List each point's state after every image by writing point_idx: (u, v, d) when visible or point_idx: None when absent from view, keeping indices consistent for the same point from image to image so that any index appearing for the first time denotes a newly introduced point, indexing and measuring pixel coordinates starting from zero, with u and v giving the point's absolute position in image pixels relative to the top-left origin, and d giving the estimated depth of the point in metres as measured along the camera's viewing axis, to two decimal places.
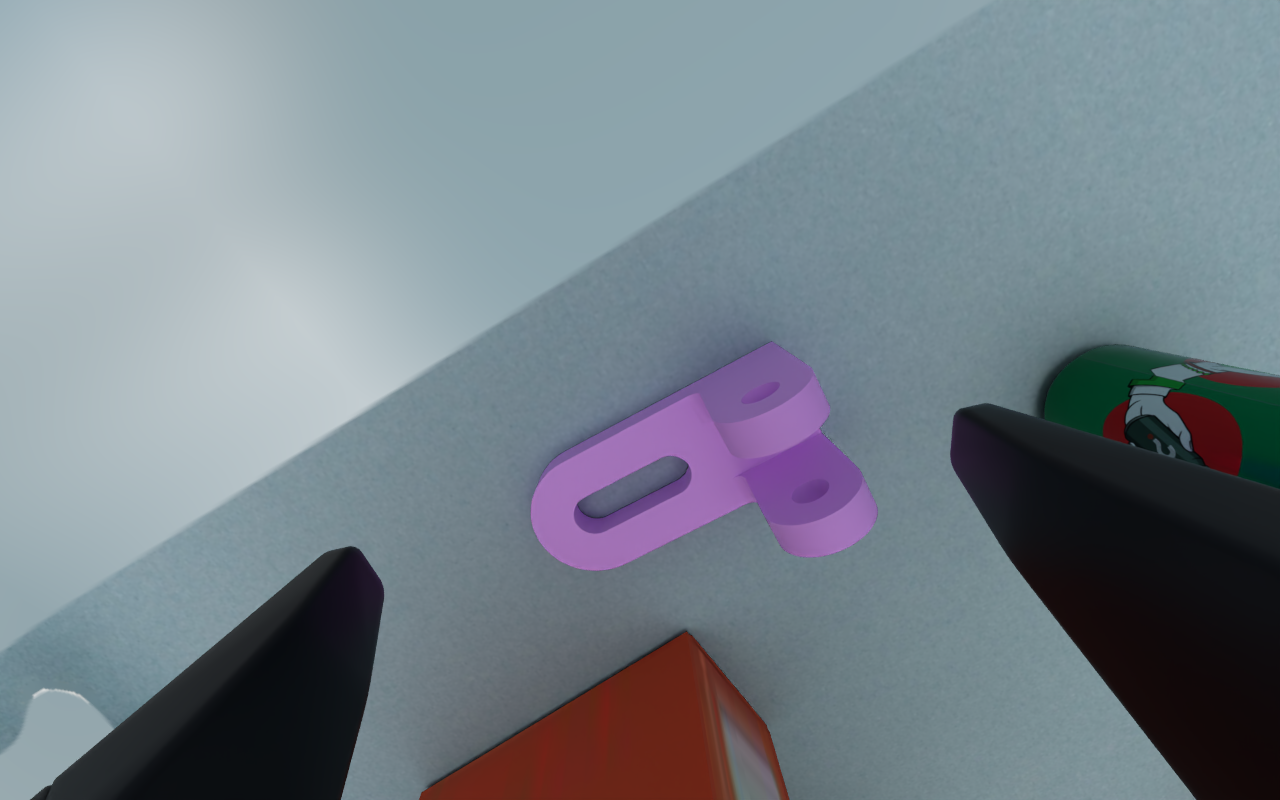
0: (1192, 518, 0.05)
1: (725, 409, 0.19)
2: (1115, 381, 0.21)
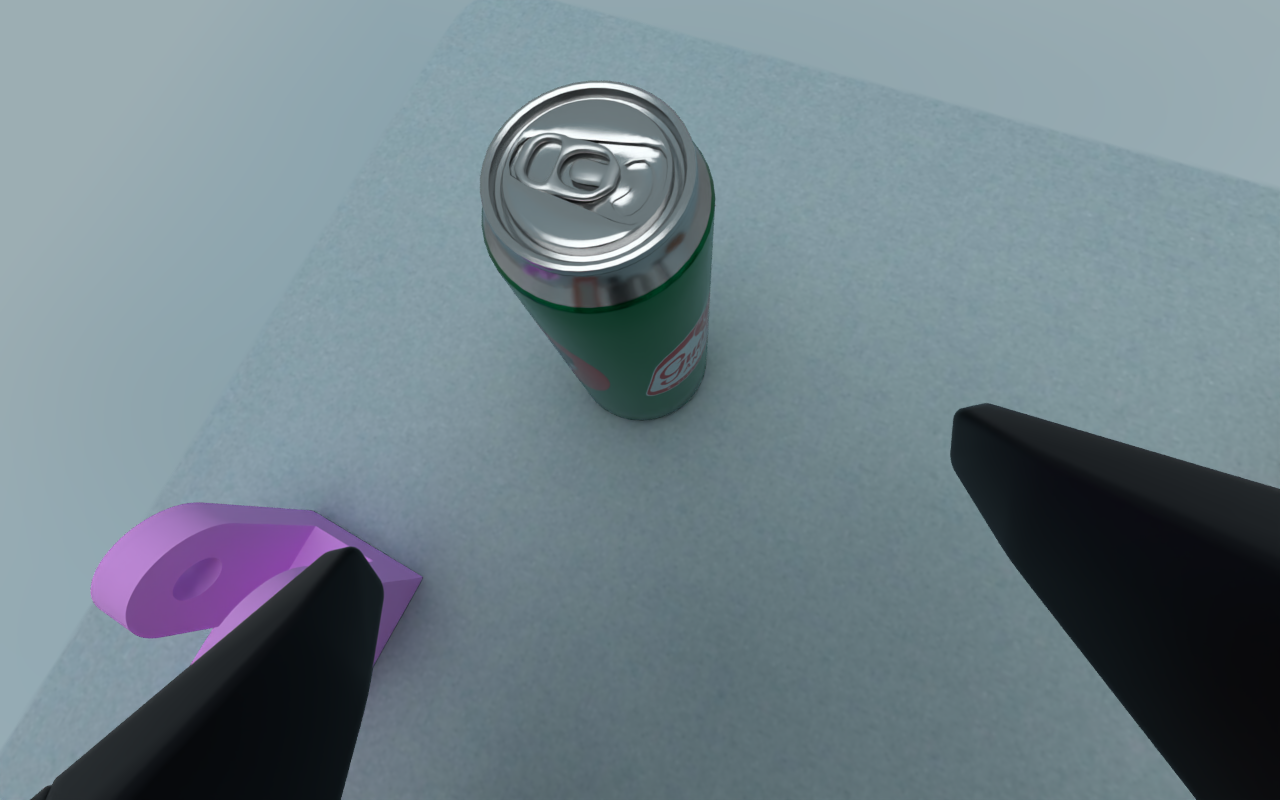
0: (1192, 518, 0.05)
1: None
2: None
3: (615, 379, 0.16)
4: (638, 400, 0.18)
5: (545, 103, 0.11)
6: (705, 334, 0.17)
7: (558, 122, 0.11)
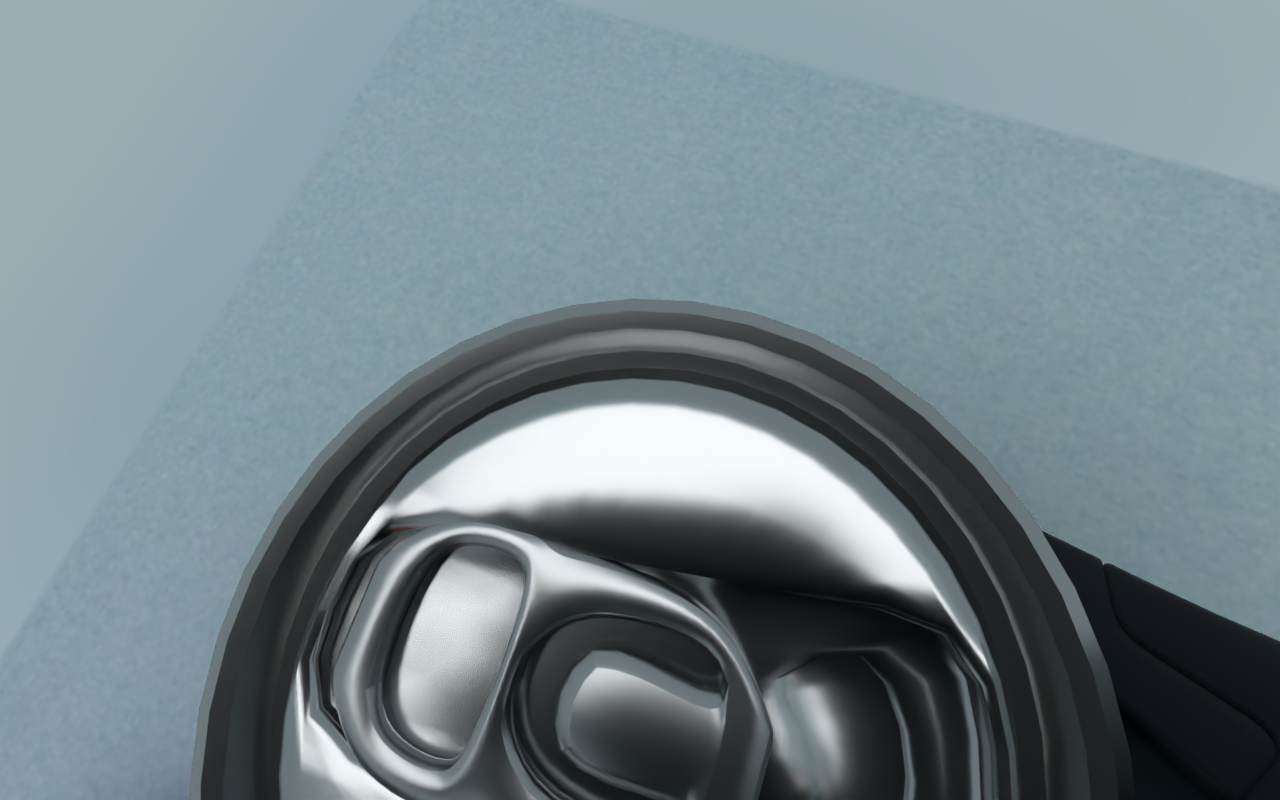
0: None
1: None
2: None
3: None
4: None
5: (468, 379, 0.03)
6: None
7: (512, 479, 0.03)
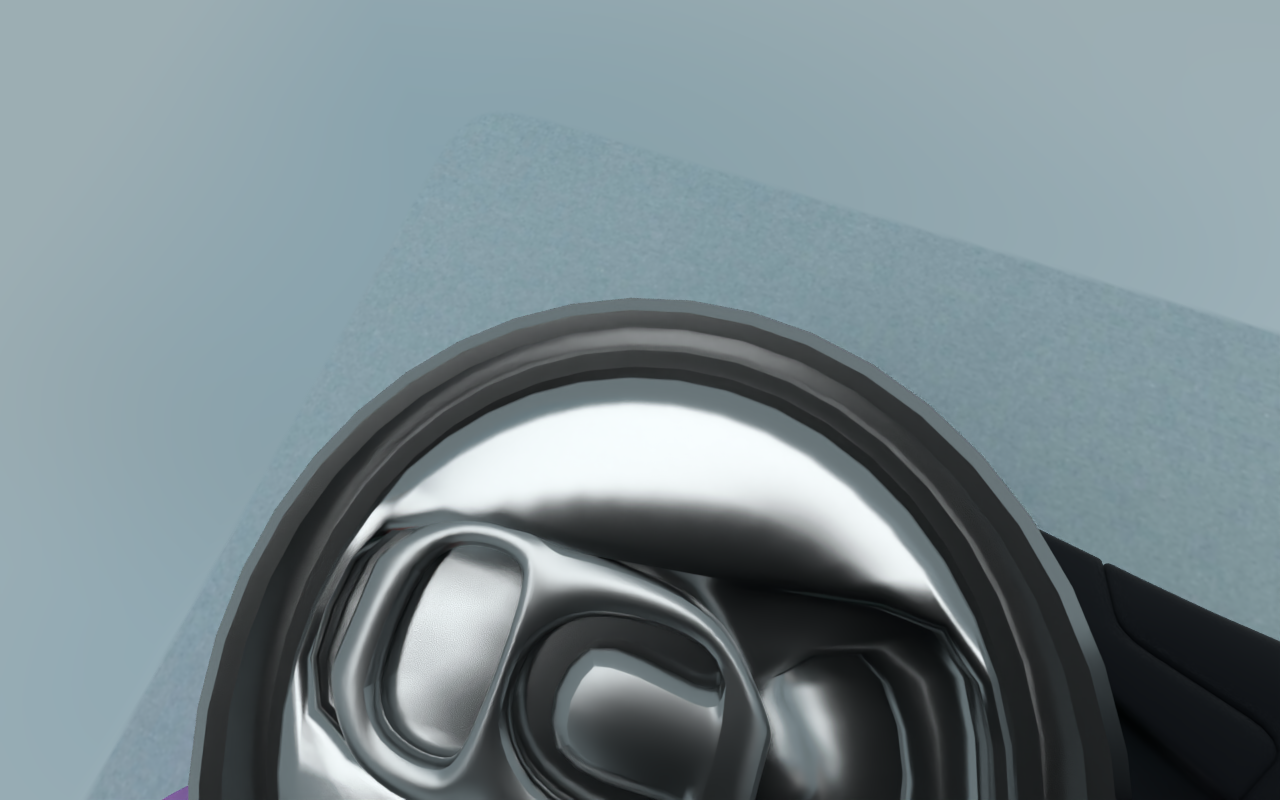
0: None
1: None
2: None
3: None
4: None
5: (466, 379, 0.03)
6: None
7: (509, 479, 0.03)
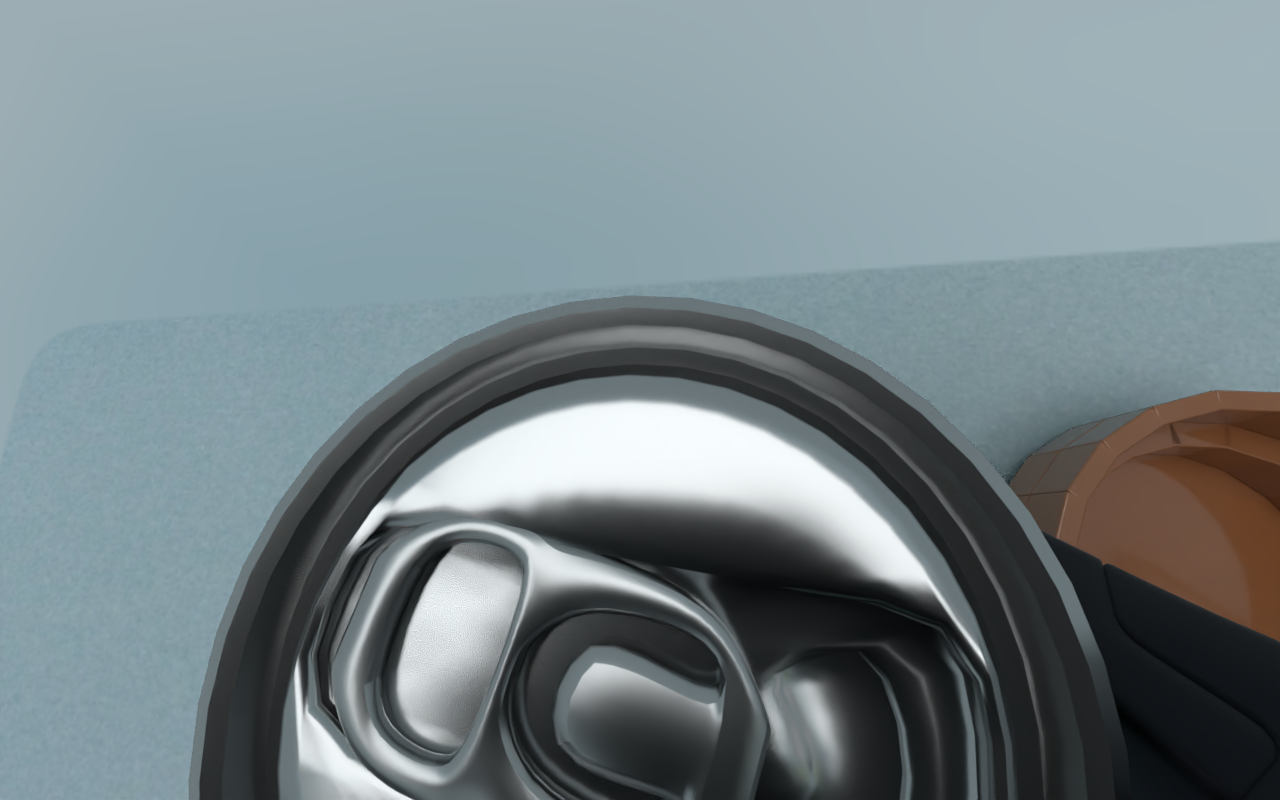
0: None
1: None
2: None
3: None
4: None
5: (466, 376, 0.03)
6: None
7: (510, 475, 0.03)
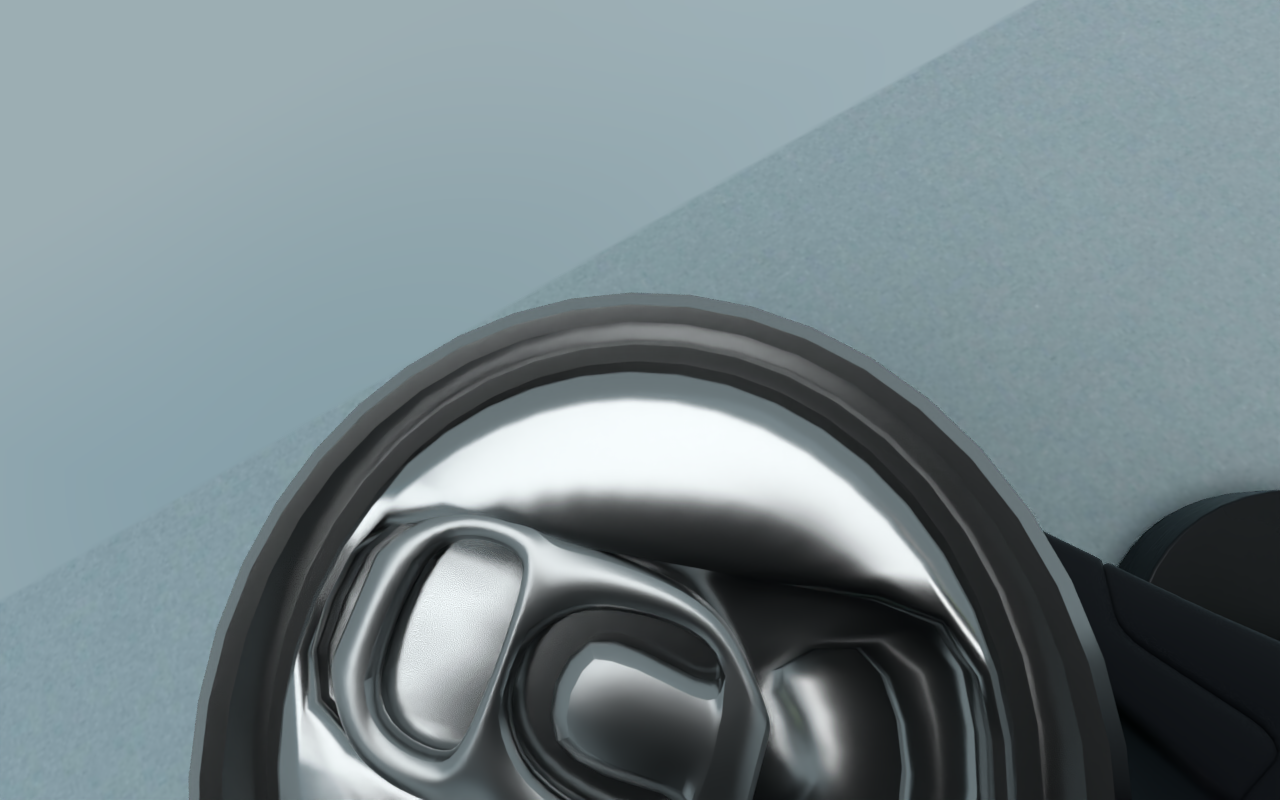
0: None
1: None
2: None
3: None
4: None
5: (466, 373, 0.03)
6: None
7: (509, 472, 0.03)
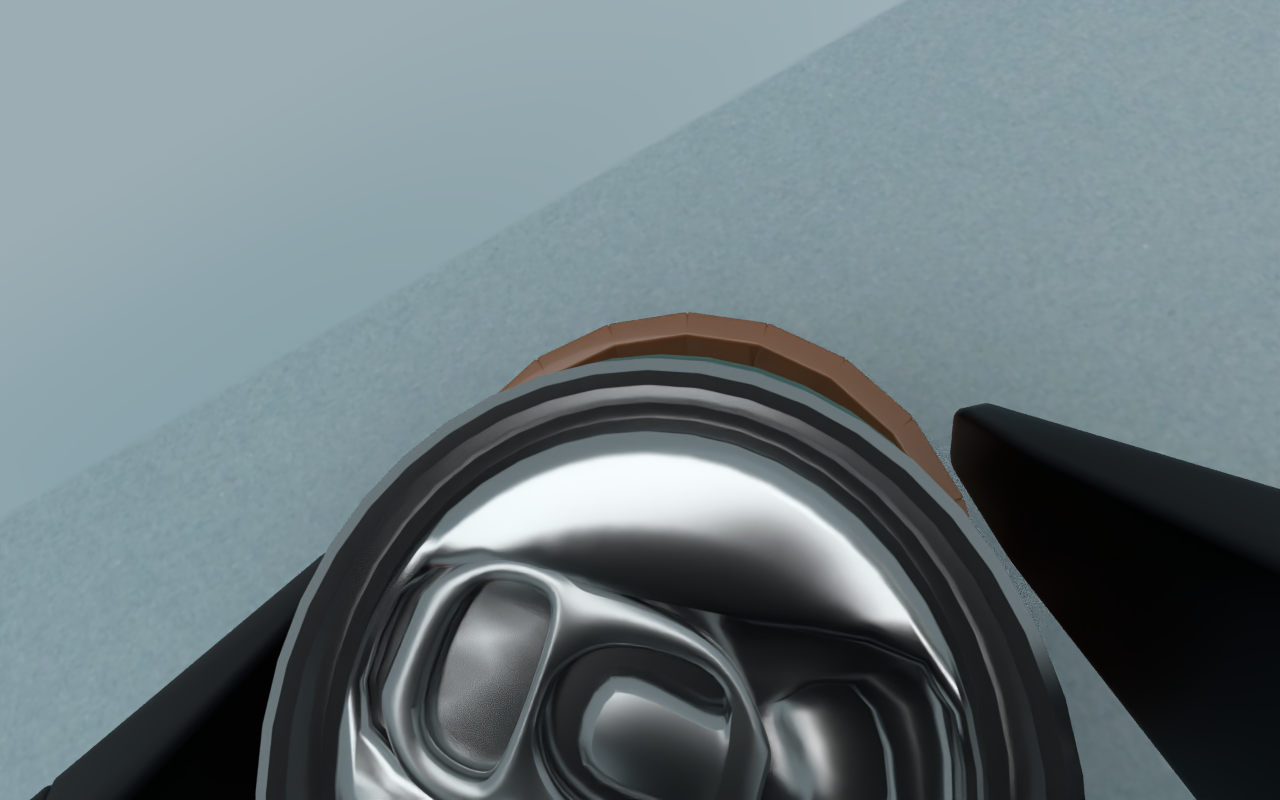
0: (1192, 518, 0.05)
1: None
2: None
3: None
4: None
5: (499, 429, 0.03)
6: None
7: (540, 522, 0.03)
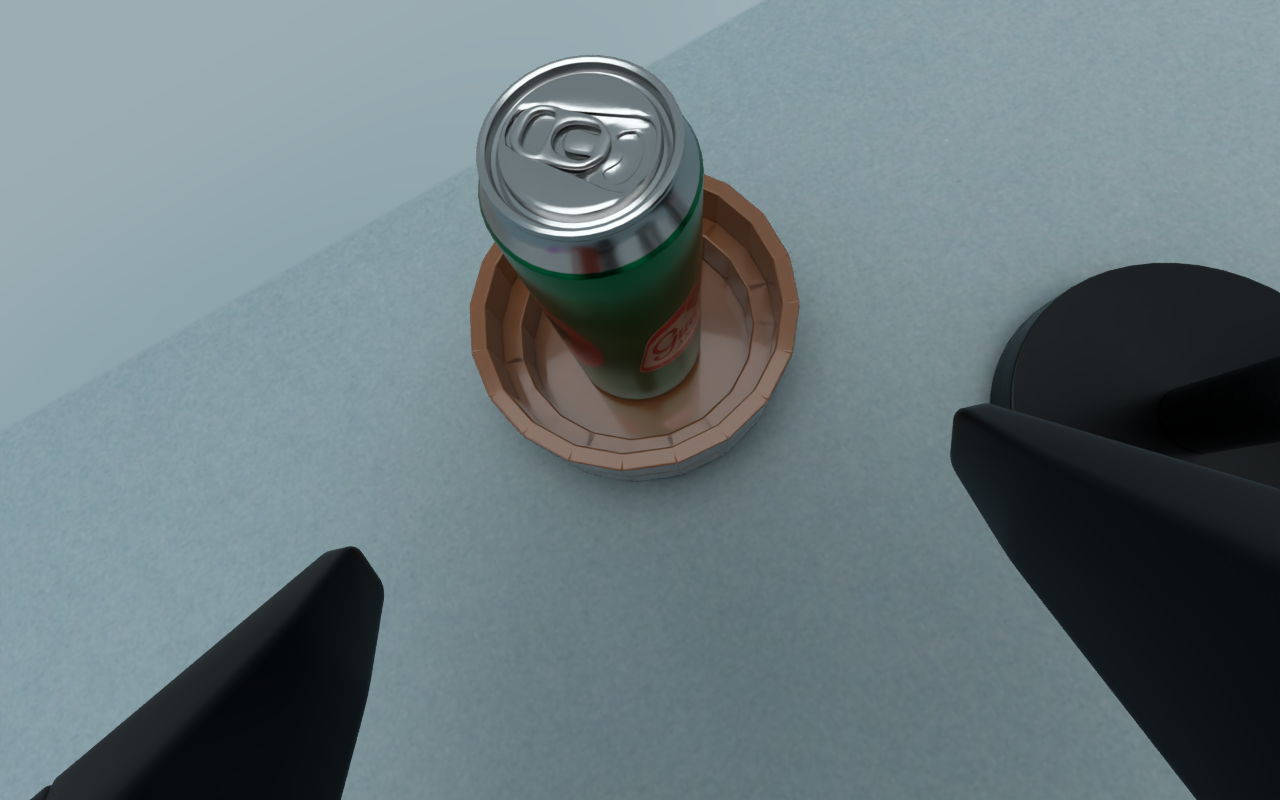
0: (1192, 518, 0.05)
1: None
2: None
3: (608, 352, 0.16)
4: (632, 377, 0.18)
5: (540, 77, 0.12)
6: (697, 311, 0.17)
7: (552, 95, 0.11)
